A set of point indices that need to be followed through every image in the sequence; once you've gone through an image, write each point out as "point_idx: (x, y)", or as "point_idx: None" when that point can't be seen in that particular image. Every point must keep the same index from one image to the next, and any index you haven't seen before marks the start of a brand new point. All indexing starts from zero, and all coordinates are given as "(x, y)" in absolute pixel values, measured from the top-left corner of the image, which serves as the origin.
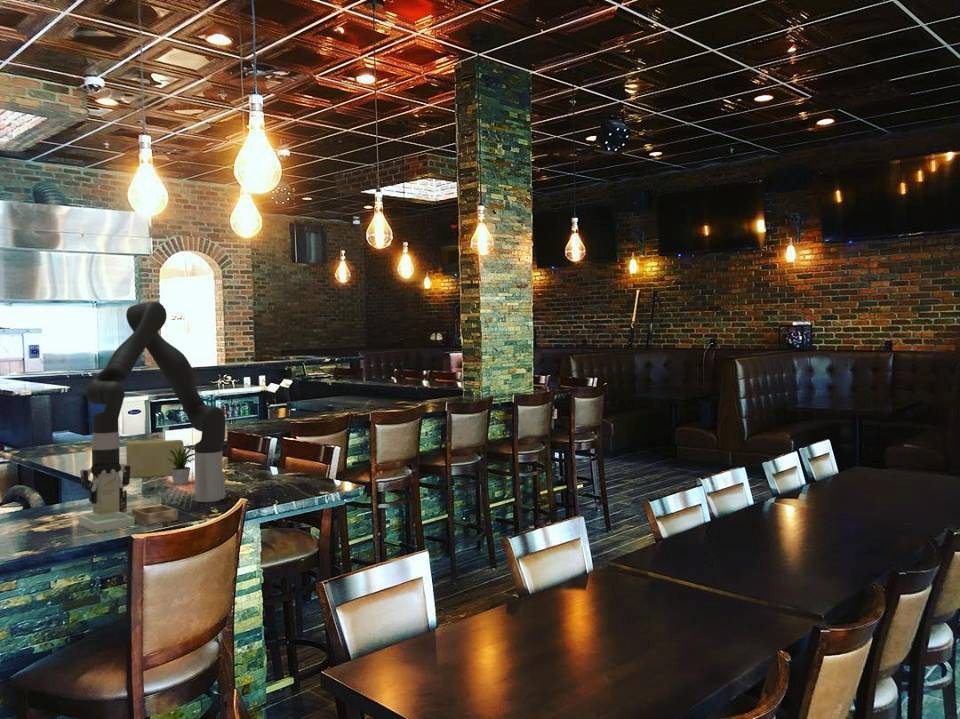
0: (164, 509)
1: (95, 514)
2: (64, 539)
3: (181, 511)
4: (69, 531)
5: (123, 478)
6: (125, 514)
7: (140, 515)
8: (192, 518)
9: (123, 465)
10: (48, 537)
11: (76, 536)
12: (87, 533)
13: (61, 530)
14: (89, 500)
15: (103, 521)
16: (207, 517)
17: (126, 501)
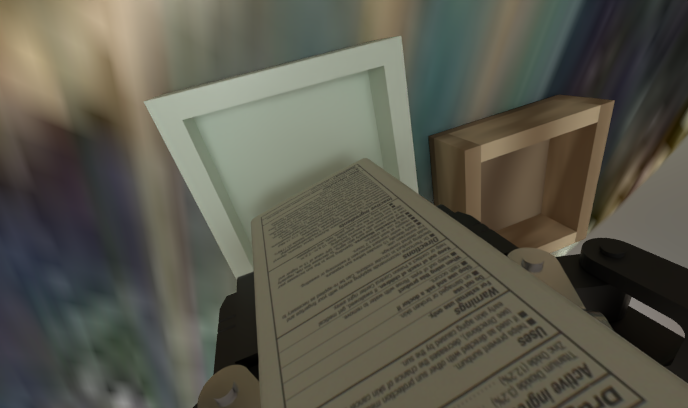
0: (577, 148)
1: (266, 96)
2: (135, 360)
3: (645, 33)
4: (128, 229)
5: (650, 301)
6: (415, 190)
7: None
8: None
9: None
10: (34, 315)
11: (182, 327)
12: (227, 293)
13: (68, 188)
14: (224, 310)
15: (305, 122)
16: (620, 202)
17: None
